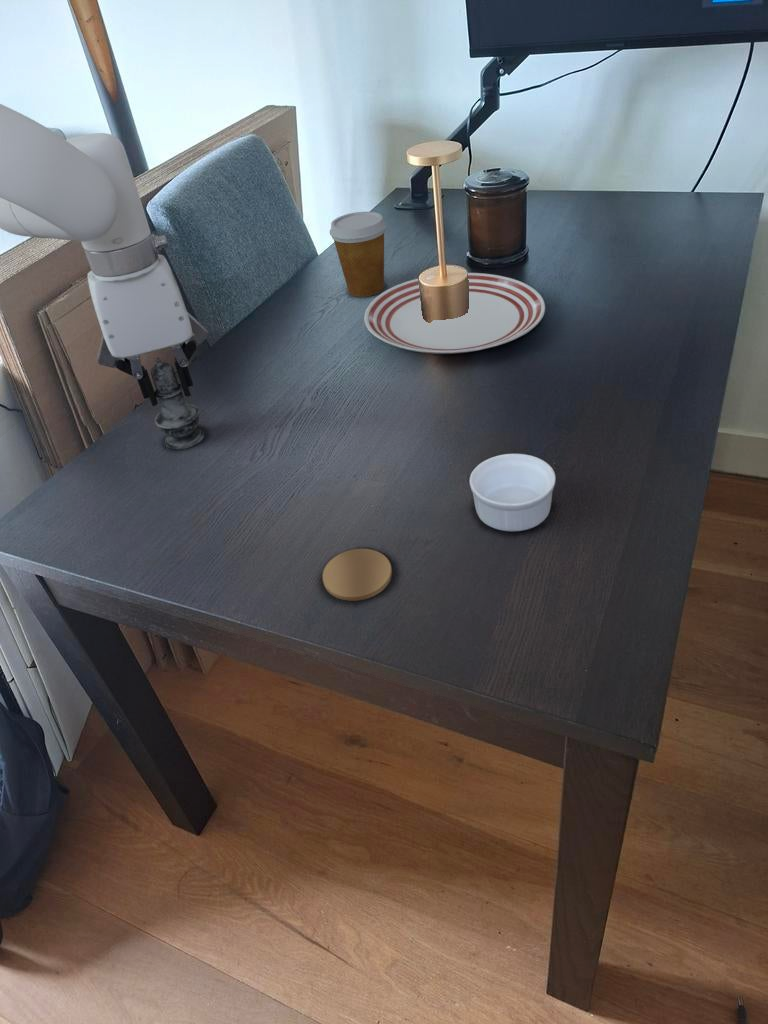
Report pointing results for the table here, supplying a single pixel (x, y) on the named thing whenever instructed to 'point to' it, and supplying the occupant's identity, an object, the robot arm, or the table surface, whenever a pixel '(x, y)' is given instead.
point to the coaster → (357, 574)
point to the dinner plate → (489, 322)
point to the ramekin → (512, 491)
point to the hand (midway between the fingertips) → (170, 395)
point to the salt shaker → (175, 409)
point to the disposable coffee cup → (361, 251)
